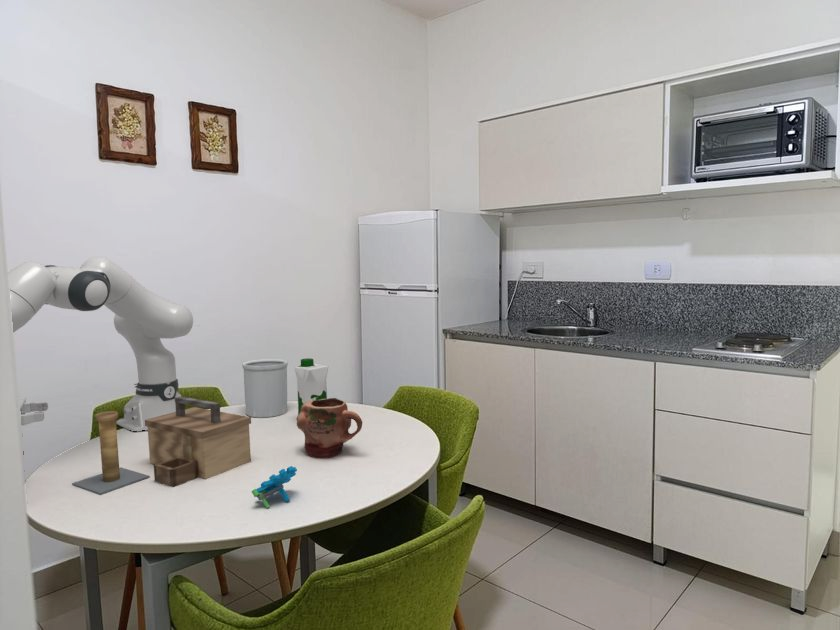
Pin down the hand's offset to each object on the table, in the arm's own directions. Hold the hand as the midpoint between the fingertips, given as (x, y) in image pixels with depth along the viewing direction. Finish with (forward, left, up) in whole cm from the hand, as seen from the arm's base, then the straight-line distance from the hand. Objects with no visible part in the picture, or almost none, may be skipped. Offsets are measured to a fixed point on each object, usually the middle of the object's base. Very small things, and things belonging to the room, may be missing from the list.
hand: (45, 410), depth 132 cm
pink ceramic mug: (+39, +51, -19) cm, 67 cm away
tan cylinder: (+6, +10, -18) cm, 22 cm away
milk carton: (+14, +72, -19) cm, 76 cm away
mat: (+6, +10, -19) cm, 22 cm away
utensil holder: (-8, +73, -19) cm, 76 cm away
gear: (+49, +22, -19) cm, 57 cm away
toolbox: (+14, +26, -19) cm, 35 cm away
